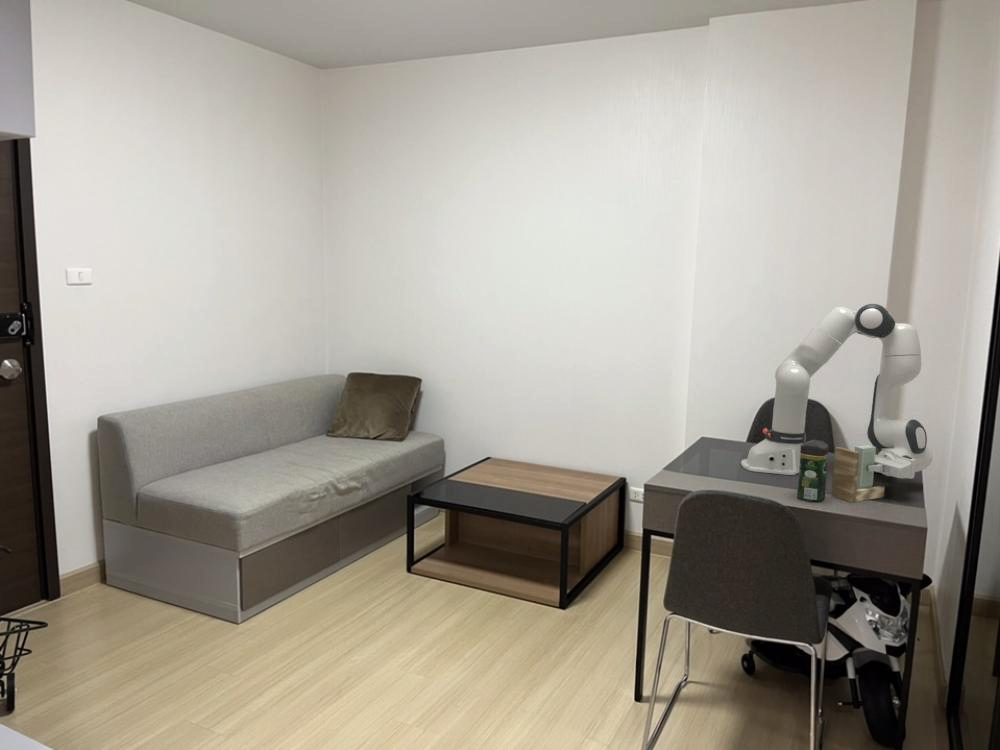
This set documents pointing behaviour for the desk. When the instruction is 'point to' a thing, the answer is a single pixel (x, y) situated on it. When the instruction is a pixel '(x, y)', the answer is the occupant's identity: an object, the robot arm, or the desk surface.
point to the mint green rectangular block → (865, 459)
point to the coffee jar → (812, 470)
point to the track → (850, 478)
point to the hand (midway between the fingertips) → (861, 466)
